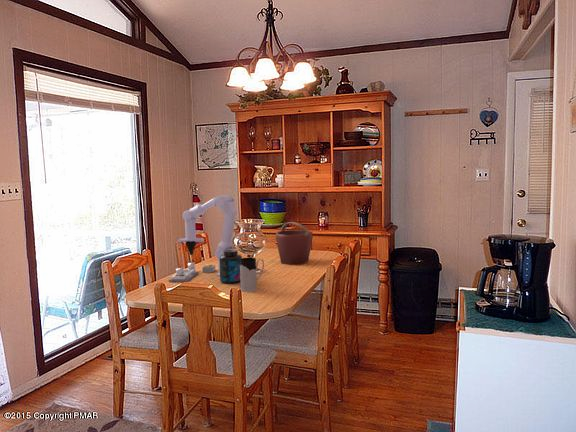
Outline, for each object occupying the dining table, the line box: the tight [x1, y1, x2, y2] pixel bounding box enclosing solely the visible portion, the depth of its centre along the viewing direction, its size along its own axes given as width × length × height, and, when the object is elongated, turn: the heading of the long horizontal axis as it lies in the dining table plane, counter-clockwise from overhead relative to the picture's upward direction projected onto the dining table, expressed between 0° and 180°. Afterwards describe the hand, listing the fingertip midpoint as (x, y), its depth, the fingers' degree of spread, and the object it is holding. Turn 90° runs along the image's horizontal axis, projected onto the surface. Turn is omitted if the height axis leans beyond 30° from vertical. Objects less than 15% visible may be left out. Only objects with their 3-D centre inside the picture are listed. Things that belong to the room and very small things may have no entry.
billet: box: [187, 262, 196, 271], centre depth 268 cm, size 4×4×5 cm
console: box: [202, 264, 216, 273], centre depth 268 cm, size 6×6×3 cm
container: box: [218, 249, 243, 285], centre depth 242 cm, size 12×12×16 cm
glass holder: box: [240, 257, 265, 293], centre depth 226 cm, size 9×14×15 cm, turn 135°
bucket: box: [275, 221, 314, 266], centre depth 286 cm, size 24×22×25 cm
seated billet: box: [175, 267, 185, 276], centre depth 248 cm, size 4×4×5 cm
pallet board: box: [168, 269, 199, 283], centre depth 254 cm, size 20×10×3 cm, turn 175°
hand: (191, 254), depth 267 cm, fingers closed
